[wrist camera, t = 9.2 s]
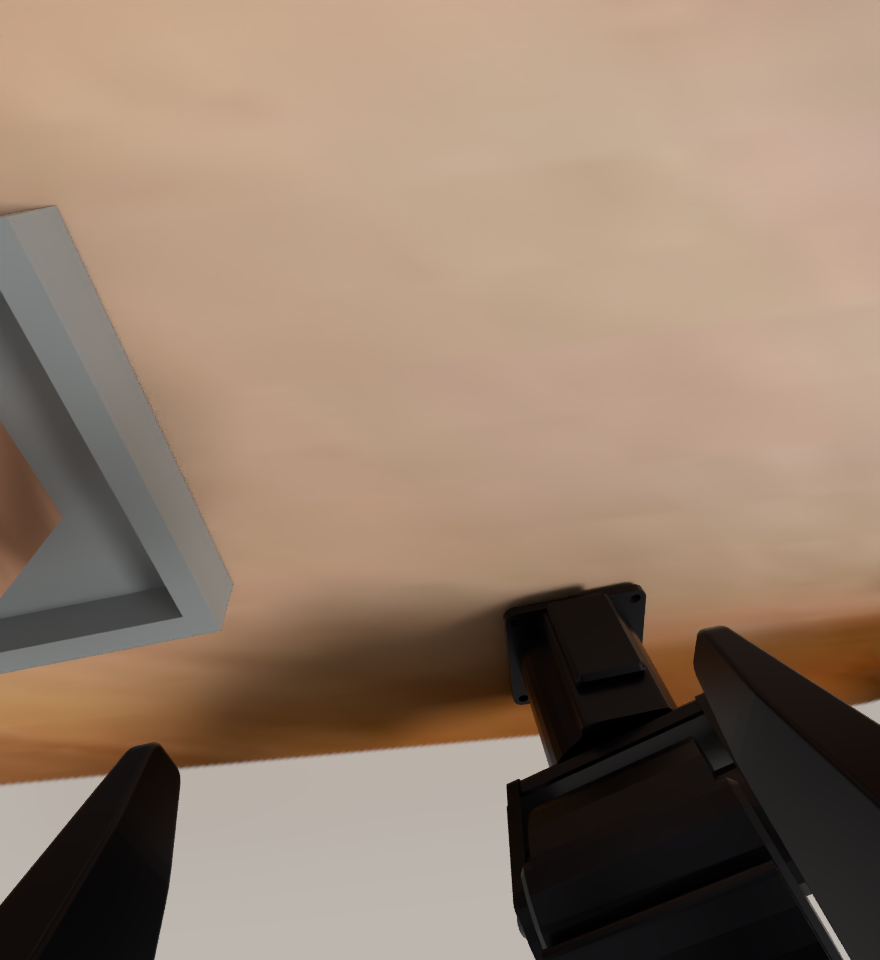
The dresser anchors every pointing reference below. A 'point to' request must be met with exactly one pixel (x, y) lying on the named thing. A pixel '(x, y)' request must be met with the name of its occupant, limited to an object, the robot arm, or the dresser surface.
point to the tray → (91, 471)
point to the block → (20, 512)
